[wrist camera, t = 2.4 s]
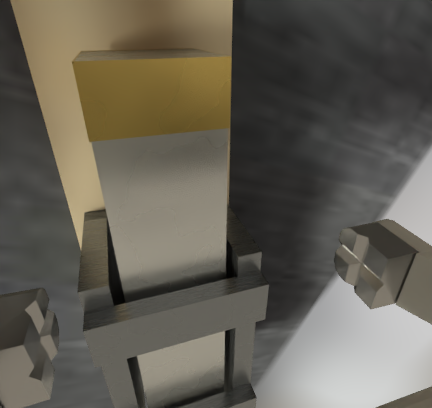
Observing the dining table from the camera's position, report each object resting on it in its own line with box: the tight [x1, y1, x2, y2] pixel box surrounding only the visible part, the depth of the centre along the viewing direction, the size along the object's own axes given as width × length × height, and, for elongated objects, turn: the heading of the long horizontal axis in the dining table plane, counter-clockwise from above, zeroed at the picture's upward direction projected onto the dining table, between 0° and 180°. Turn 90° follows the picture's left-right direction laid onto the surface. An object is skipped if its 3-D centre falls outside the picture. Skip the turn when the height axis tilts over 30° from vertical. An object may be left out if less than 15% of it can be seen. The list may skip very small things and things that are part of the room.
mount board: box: [11, 0, 233, 248], centre depth 15 cm, size 8×34×1 cm, turn 0°
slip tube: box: [72, 48, 231, 408], centre depth 15 cm, size 4×20×4 cm, turn 0°
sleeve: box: [78, 204, 269, 408], centre depth 17 cm, size 7×14×6 cm, turn 0°
